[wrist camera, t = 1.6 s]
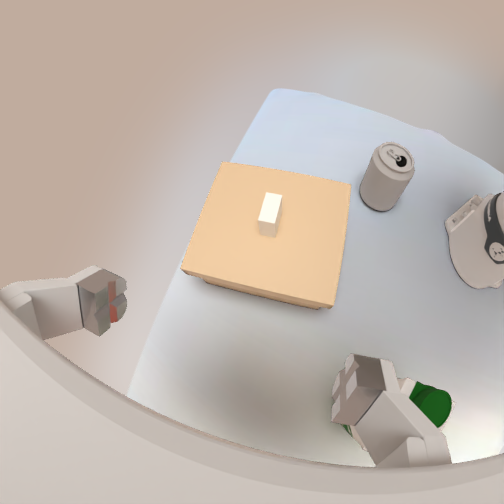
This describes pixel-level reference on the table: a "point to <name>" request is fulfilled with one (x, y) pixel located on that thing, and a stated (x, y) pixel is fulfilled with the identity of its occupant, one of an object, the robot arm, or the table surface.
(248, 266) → the carton lid
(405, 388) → the milk carton
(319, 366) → the table surface
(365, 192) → the can
